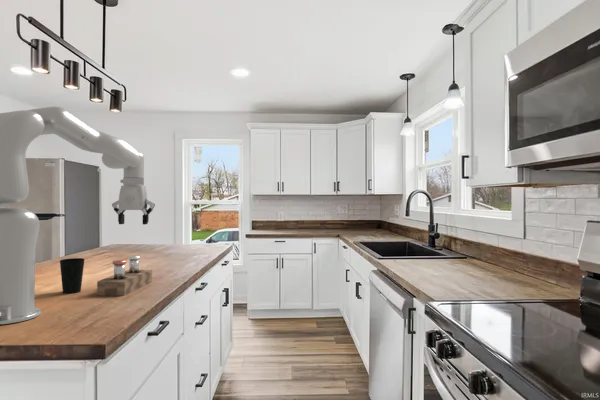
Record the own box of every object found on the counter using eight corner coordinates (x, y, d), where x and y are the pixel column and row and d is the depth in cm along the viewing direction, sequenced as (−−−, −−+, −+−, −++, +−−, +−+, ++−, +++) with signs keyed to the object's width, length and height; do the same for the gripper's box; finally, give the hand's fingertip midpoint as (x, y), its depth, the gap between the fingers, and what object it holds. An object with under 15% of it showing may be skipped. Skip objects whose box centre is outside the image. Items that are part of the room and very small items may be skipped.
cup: (71, 295, 124) (72, 261, 124) (54, 293, 125) (54, 260, 125) (88, 290, 131) (89, 258, 131) (72, 288, 133) (72, 257, 133)
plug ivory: (136, 274, 138) (137, 257, 138) (125, 274, 138) (125, 257, 138) (142, 272, 143) (142, 255, 143) (131, 272, 143) (131, 255, 143)
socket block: (124, 295, 124) (124, 281, 124) (97, 295, 124) (97, 281, 124) (152, 281, 146) (152, 269, 146) (128, 281, 146) (128, 269, 146)
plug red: (122, 280, 127) (122, 262, 127) (109, 280, 127) (110, 261, 127) (128, 278, 132) (128, 259, 132) (116, 278, 132) (116, 259, 132)
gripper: (107, 181, 138) (107, 224, 137) (150, 182, 137) (150, 225, 137) (117, 182, 145) (117, 223, 145) (158, 183, 145) (158, 223, 145)
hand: (133, 224), depth 141 cm, fingers open, 9 cm apart
